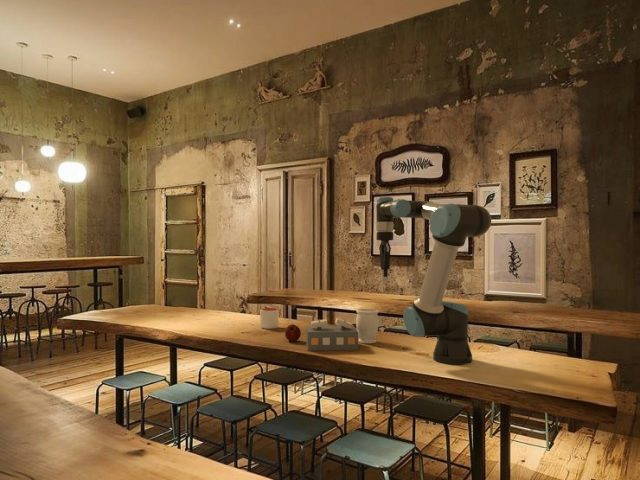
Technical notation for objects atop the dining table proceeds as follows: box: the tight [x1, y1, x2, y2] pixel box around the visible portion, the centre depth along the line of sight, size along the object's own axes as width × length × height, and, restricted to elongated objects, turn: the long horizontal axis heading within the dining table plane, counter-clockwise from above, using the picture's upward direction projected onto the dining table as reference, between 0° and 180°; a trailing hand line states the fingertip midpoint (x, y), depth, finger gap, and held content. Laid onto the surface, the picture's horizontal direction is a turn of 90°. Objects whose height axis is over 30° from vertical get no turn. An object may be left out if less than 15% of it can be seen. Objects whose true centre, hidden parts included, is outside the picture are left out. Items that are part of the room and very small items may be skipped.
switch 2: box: [334, 317, 353, 329], centre depth 213 cm, size 5×7×2 cm
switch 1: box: [310, 318, 329, 328], centre depth 212 cm, size 5×7×2 cm
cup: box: [259, 307, 280, 330], centre depth 259 cm, size 10×10×10 cm
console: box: [305, 325, 359, 351], centre depth 212 cm, size 14×22×9 cm, turn 95°
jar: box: [355, 308, 380, 344], centre depth 223 cm, size 11×10×15 cm
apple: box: [284, 324, 302, 342], centre depth 224 cm, size 7×8×8 cm
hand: (384, 283), depth 212 cm, fingers closed
